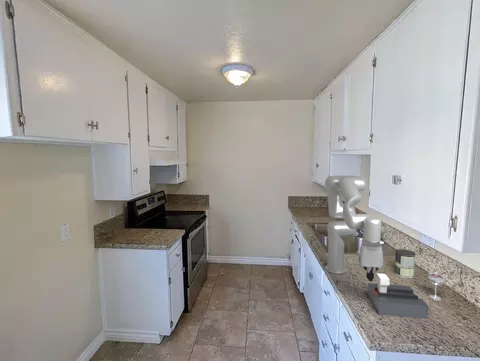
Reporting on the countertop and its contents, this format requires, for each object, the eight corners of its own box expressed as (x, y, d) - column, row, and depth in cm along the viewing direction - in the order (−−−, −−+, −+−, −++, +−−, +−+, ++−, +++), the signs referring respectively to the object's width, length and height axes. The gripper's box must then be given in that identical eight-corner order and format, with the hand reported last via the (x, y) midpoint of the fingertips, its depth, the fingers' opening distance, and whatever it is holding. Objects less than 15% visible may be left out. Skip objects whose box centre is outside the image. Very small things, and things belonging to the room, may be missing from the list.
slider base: (367, 294, 138) (367, 281, 137) (409, 297, 134) (409, 284, 133) (379, 314, 120) (379, 299, 119) (427, 318, 116) (428, 303, 116)
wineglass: (442, 302, 129) (444, 279, 128) (426, 297, 134) (427, 275, 133) (444, 297, 134) (445, 274, 133) (428, 292, 139) (429, 270, 137)
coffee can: (391, 273, 162) (392, 251, 160) (399, 269, 167) (400, 248, 166) (409, 280, 153) (410, 256, 152) (417, 275, 158) (418, 253, 157)
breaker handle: (375, 288, 131) (376, 273, 130) (384, 289, 130) (384, 273, 129) (379, 294, 125) (380, 278, 124) (388, 295, 124) (389, 279, 123)
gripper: (385, 241, 129) (383, 277, 130) (353, 240, 131) (351, 275, 133) (391, 246, 121) (389, 284, 123) (357, 245, 124) (355, 282, 126)
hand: (370, 279), depth 128 cm, fingers closed
